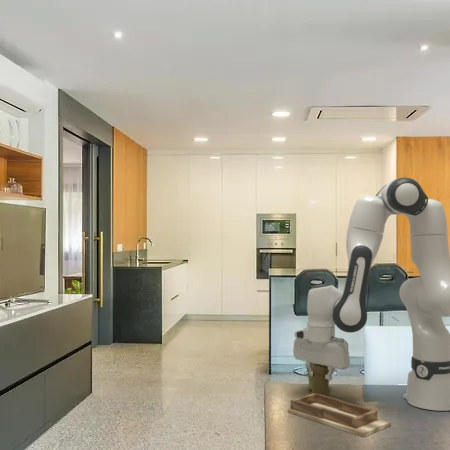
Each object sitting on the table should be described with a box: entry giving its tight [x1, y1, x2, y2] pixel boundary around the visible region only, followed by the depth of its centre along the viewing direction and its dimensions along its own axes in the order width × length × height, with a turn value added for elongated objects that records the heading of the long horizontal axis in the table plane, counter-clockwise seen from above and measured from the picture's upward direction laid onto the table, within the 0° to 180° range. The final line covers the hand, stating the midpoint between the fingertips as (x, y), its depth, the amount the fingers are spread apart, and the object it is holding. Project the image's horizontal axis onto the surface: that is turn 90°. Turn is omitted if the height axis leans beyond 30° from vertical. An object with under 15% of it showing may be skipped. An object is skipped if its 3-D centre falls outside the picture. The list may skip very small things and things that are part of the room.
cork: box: [311, 364, 331, 397], centre depth 174 cm, size 6×6×11 cm
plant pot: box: [304, 361, 330, 391], centre depth 185 cm, size 9×9×9 cm
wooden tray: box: [287, 393, 392, 438], centre depth 155 cm, size 13×26×4 cm, turn 42°
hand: (320, 378), depth 174 cm, fingers closed on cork, 5 cm apart
